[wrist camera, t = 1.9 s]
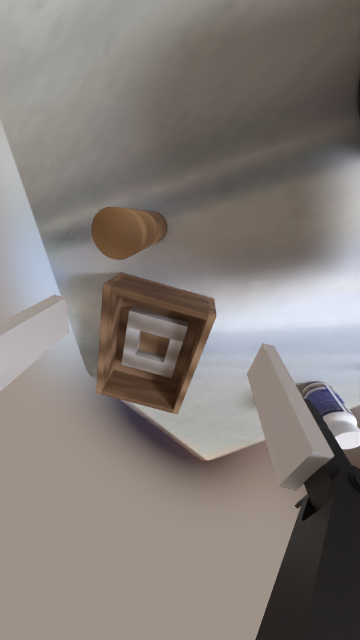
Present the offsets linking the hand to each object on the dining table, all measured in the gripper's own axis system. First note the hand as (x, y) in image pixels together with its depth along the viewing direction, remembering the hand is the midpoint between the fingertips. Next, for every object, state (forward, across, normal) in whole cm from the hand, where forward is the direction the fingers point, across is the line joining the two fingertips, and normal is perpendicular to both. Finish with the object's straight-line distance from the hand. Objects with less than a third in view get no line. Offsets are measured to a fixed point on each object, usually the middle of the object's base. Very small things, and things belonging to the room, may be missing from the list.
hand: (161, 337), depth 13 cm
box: (+20, -3, -14) cm, 25 cm away
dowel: (+20, -6, +5) cm, 21 cm away
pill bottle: (+20, +31, -18) cm, 41 cm away
